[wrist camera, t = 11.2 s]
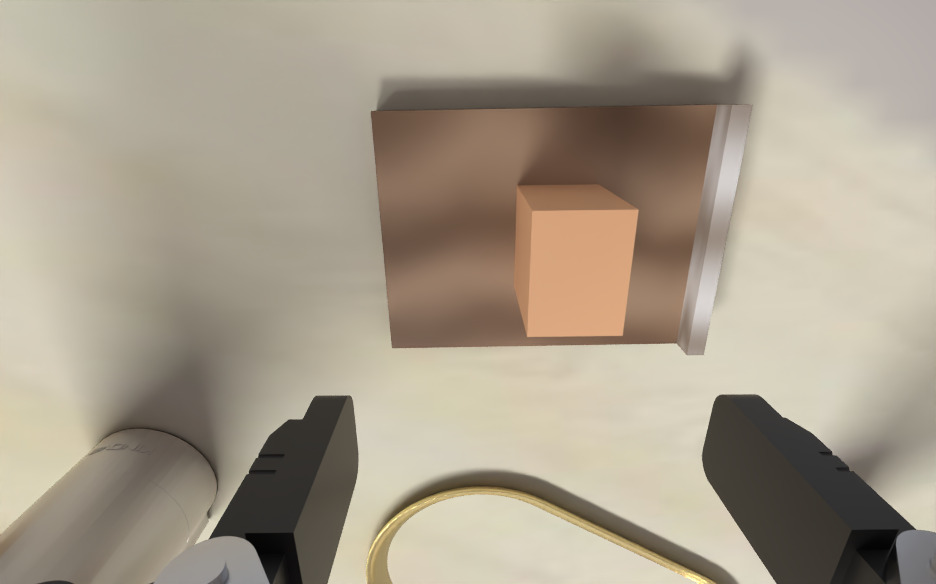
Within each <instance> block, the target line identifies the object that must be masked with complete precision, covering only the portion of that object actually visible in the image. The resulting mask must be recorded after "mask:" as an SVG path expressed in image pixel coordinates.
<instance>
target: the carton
mask: <svg viewBox="0 0 936 584" xmlns="http://www.w3.org/2000/svg"><path fill="white" fill-rule="evenodd" d="M638 211H639V209H637V208H635V207H634V206H632V205H631V204H629V203H627V202H626V201H624V200H623V199H621V198H619V197H618V196H616V195H615V194H613V193H612V192H610V191H608V190H607V189H605V188H604V187H602V186H600V185H599V184H587V185H517V202H516V238H515V275H514V288H515V292H516V295H517V299H518V303H519V307H520V311H521V315H522V319H523V323H524V326H525V330H526V334H527V337H566V336H623V329H624V321H625V314H626V306H627V298H628V290H629V282H630V274H631V266H632V258H633V250H634V243H635V235H636V227H637V219H638Z"/></svg>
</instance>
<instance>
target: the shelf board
mask: <svg viewBox="0 0 936 584" xmlns="http://www.w3.org/2000/svg"><path fill="white" fill-rule="evenodd" d="M752 106H753V105H737V104H713V105H660V106H607V107H553V108H500V109H447V110H394V111H371V118H372V129H373V140H374V151H375V163H376V174H377V185H378V196H379V207H380V219H381V230H382V241H383V252H384V263H385V275H386V286H387V297H388V308H389V319H390V331H391V342H392V348H429V347H488V346H547V345H606V344H665V343H677V344H678V346H679V347H680V348H681V349H682V350H683V351H684V352H685V354H686V355H704V350H705V345H706V340H707V335H708V330H709V325H710V320H711V314H712V309H713V304H714V299H715V294H716V289H717V284H718V279H719V274H720V269H721V264H722V259H723V254H724V249H725V243H726V238H727V233H728V228H729V223H730V218H731V213H732V208H733V203H734V198H735V193H736V188H737V183H738V177H739V172H740V167H741V162H742V157H743V152H744V147H745V142H746V137H747V132H748V127H749V122H750V117H751V111H752ZM587 184H599V185H600V186H602V187H604V188H605V189H607V190H608V191H610V192H612V193H613V194H615V195H616V196H618V197H619V198H621V199H623V200H624V201H626V202H627V203H629V204H631V205H632V206H634V207H635V208H637V209H639V211H638V219H637V227H636V235H635V243H634V250H633V258H632V266H631V274H630V282H629V290H628V298H627V306H626V314H625V321H624V329H623V336H566V337H527V334H526V330H525V326H524V323H523V319H522V315H521V311H520V307H519V303H518V299H517V295H516V292H515V288H514V275H515V238H516V202H517V185H587Z"/></svg>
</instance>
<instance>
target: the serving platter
mask: <svg viewBox="0 0 936 584" xmlns="http://www.w3.org/2000/svg"><path fill="white" fill-rule="evenodd" d="M474 494H489V495H500V496H506V497H511V498H515V499H518V500H522V501H524V502H527V503H530V504H532V505H534V506H536V507H538V508H541V509H543V510H545V511H547V512H549V513H551V514H553V515H555V516H558V517H560V518H562V519H564V520H566V521H568V522H570V523H572V524H575V525H577V526H579V527H581V528H583V529H585V530H587V531H589V532H592V533H594V534H596V535H598V536H600V537H602V538H604V539H606V540H609V541H611V542H613V543H615V544H617V545H619V546H621V547H623V548H626V549H628V550H630V551H632V552H634V553H636V554H638V555H640V556H643V557H645V558H647V559H649V560H651V561H653V562H655V563H657V564H660V565H662V566H664V567H666V568H668V569H670V570H672V571H674V572H677V573H679V574H681V575H683V576H685V577H687V578H689V579H692V580H693V581H695V582H697V583H699V584H717V583H715V582H714V581H712V580H710V579H709V578H707V577H705V576H703V575H701V574H699V573H696V572H694V571H692V570H690V569H688V568H686V567H684V566H682V565H680V564H678V563H675V562H673V561H671V560H669V559H667V558H665V557H663V556H661V555H659V554H657V553H654V552H652V551H650V550H648V549H646V548H644V547H642V546H640V545H638V544H636V543H633V542H631V541H629V540H627V539H625V538H623V537H621V536H619V535H617V534H615V533H612V532H610V531H608V530H606V529H604V528H602V527H600V526H598V525H596V524H594V523H592V522H589V521H587V520H585V519H583V518H581V517H579V516H577V515H575V514H573V513H571V512H568V511H566V510H564V509H562V508H560V507H558V506H556V505H554V504H552V503H550V502H547V501H545V500H543V499H541V498H539V497H536V496H534V495H531V494H528V493H525V492H521V491H517V490H513V489H508V488H501V487H490V486H474V487H463V488H457V489H451V490H447V491H443V492H439V493H436V494H433V495H430V496H428V497H426V498H423V499H421V500H419V501H417V502H415V503H413V504H411V505H410V506H408V507H407V508H405V509H403V510H402V511H401V512H399V513H398V514H397V515H396V516H394V517H393V518H392V519H391V520H390V521H389V522H388V523H387V524H386V525H385V526H384V527H383V528H382V530H381V531H380V532H379V533H378V535H377V537H376V538H375V540H374V542H373V544H372V546H371V548H370V551H369V554H368V558H367V563H366V580H367V584H392V582H391V579H390V577H389V573H388V569H387V555H388V550H389V546H390V544H391V541H392V539H393V537H394V535H395V534H396V532H397V531H398V530H399V528H400V527H401V526H402V525H403V524H404V523H405V522H406V521H407V520H408V519H409V518H410V517H412V516H413V515H414V514H416V513H417V512H419V511H420V510H422V509H424V508H426V507H428V506H430V505H432V504H434V503H437V502H439V501H442V500H445V499H449V498H453V497H458V496H464V495H474Z"/></svg>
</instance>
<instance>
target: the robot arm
mask: <svg viewBox="0 0 936 584" xmlns="http://www.w3.org/2000/svg"><path fill="white" fill-rule="evenodd" d="M258 455H259V456H258V458H256V459H255V461H254V463H253V465H252V466H251V468H250V470H249V474H248V475H246V477H245V478H244V480H243V482H242V483H241V485H240V487H239V488H238V490H237V492H236V494H235V495H234V497H233V499H232V500H231V502H230V504H229V505H228V507H227V509H226V511H225V512H224V514H223V516H222V517H221V519H220V521H219V523H218V524H217V526H216V528H215V529H214V531H213V533H212V534H211V536H210V538H209V539H208V540H205V541H203V542H200V543H198V544H196V545H194V544H195V543H196V541H197V540H198V538H199V536H200V535H201V533H202V531H203V530H204V528H205V527H206V525H207V523H208V522H209V520H208V516H207V511H208V510H209V508H210V507H211V505H212V504H213V502H214V499H215V496H216V493H217V482H216V478H215V475H214V472H213V470H212V468H211V466H210V465H209V463H208V462H207V461H206V459H205V458H204V457H203V456H202V455H201V453H199V452H198V451H197V450H196V449H194V448H193V447H192V446H191V445H189V444H188V443H186V442H184V441H183V440H181V439H179V438H177V437H174V436H172V435H169V434H167V433H164V432H160V431H155V430H151V429H129V430H123V431H119V432H116V433H113V434H111V435H110V436H108V437H106V438H105V439H103V440H102V441H101V442H100V443H99V444H98V445H97V446H96V447H94V448H93V449H92V450H91V451H90V452H89V453H88V454H87V455H86V456H85V457H84V458H83V459H82V460H80V461H79V462H78V463H77V464H76V465H75V466H74V467H73V468H72V469H71V470H70V471H69V472H68V473H66V474H65V475H64V476H63V477H62V478H61V479H60V480H59V481H57V482H56V483H55V484H54V485H53V486H52V487H51V488H50V489H49V490H48V491H47V492H46V493H45V494H43V495H42V496H41V497H40V498H39V499H38V500H37V501H36V502H35V503H34V504H33V505H32V506H31V507H29V508H28V509H27V510H26V511H25V512H24V513H23V514H22V515H21V516H20V517H19V518H18V519H17V520H15V521H14V522H13V523H12V524H11V525H10V526H9V527H8V528H7V529H6V530H5V531H4V532H3V533H1V534H0V584H327V583H328V579H329V576H330V572H331V569H332V565H333V562H334V558H335V555H336V551H337V547H338V544H339V540H340V537H341V533H342V530H343V526H344V523H345V519H346V516H347V512H348V508H349V505H350V501H351V498H352V494H353V491H354V487H355V484H356V479H357V473H358V445H357V435H356V425H355V416H354V406H353V400H352V397H351V396H315V397H314V398H313V400H312V402H311V404H310V406H309V408H308V410H307V412H306V414H305V416H304V418H303V419H300V420H288V421H286V422H285V423H284V424H283V425H282V426H280V427H279V428H278V429H277V430H276V431H274V432H273V433H272V434H271V435H270V436H269V437H268V439H267V441H266V442H265V444H264V446H263V448H262V449H261V451H260V453H259V454H258ZM702 461H703V467H704V471H705V474H706V477H707V479H708V481H709V483H710V484H711V486H712V487H713V489H714V490H715V492H716V493H717V495H718V496H719V498H720V499H721V501H722V502H723V504H724V505H725V507H726V508H727V510H728V511H729V513H730V514H731V516H732V517H733V519H734V520H735V522H736V523H737V525H738V526H739V528H740V529H741V531H742V532H743V534H744V535H745V537H746V538H747V540H748V541H749V543H750V544H751V546H752V547H753V549H754V550H755V552H756V553H757V555H758V556H759V558H760V559H761V561H762V562H763V564H764V565H765V567H766V568H767V570H768V571H769V573H770V574H771V576H772V577H773V579H774V580H775V582H776V583H777V584H936V533H935V532H930V531H924V530H916V529H915V528H914V527H913V526H912V525H911V524H910V523H909V522H907V521H906V520H905V519H904V518H903V517H902V516H901V515H900V514H899V513H898V512H897V511H896V510H895V509H893V508H892V507H891V506H890V505H889V504H888V503H887V502H886V501H885V500H884V499H883V498H882V497H880V496H879V495H878V494H877V493H876V492H875V491H874V490H873V489H872V488H871V487H870V486H869V485H867V484H866V483H865V482H864V481H863V480H862V479H861V478H860V477H859V476H858V475H857V474H856V473H854V472H850V471H849V467H848V466H847V465H846V464H845V463H844V462H843V461H841V460H840V459H839V458H838V457H837V456H833V455H832V451H831V450H830V449H828V448H827V447H826V446H825V445H824V444H823V443H822V442H821V441H820V440H819V439H818V438H817V437H816V436H814V435H813V434H812V433H811V432H809V431H807V430H806V429H804V428H802V427H800V426H799V425H797V424H795V423H794V422H792V421H790V420H789V419H787V418H783V417H782V416H781V415H780V414H779V413H778V412H777V411H776V410H774V409H773V408H772V407H771V406H770V405H769V404H768V403H767V402H766V401H765V400H764V399H763V398H762V397H760V396H759V395H719V396H718V397H717V398H716V399H715V401H714V404H713V408H712V413H711V417H710V421H709V426H708V430H707V434H706V439H705V443H704V447H703V453H702Z"/></svg>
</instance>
